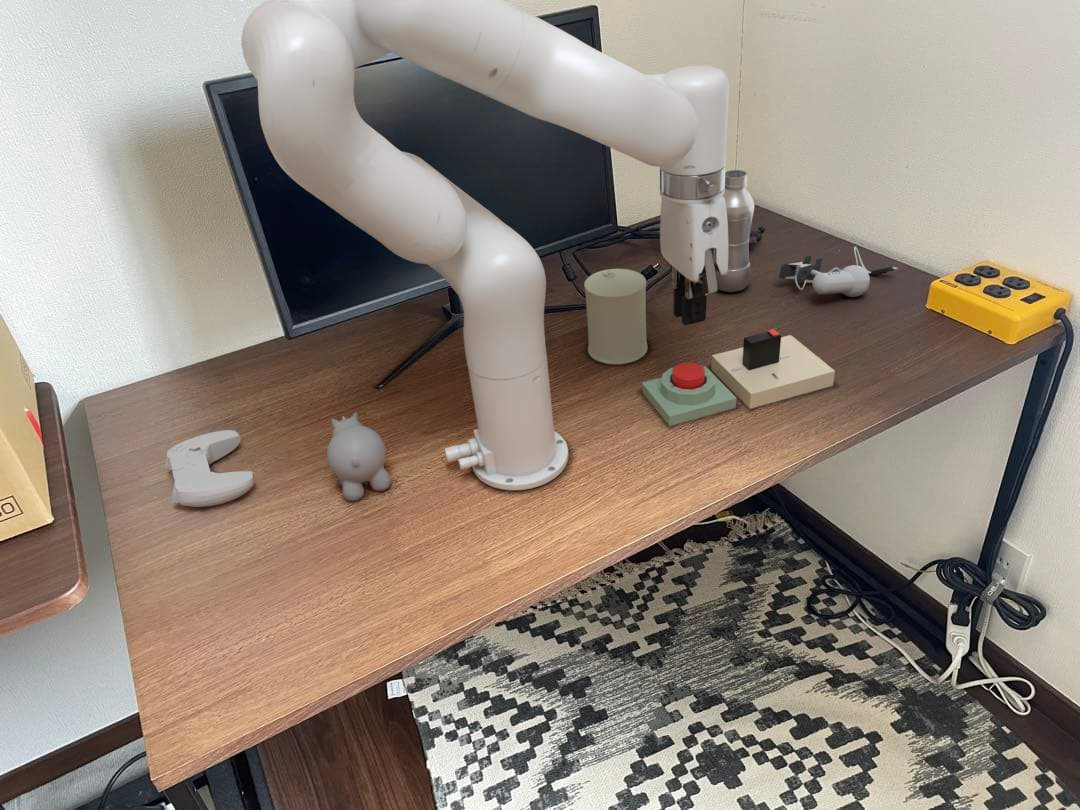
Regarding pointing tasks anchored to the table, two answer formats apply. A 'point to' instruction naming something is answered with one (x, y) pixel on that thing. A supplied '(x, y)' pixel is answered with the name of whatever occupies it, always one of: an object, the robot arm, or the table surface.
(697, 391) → the power switch
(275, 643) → the table surface
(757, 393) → the panel
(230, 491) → the game controller
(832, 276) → the clip-on lamp
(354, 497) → the chubby cartoon animal
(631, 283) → the can
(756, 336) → the knob
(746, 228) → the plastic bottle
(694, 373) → the power button
